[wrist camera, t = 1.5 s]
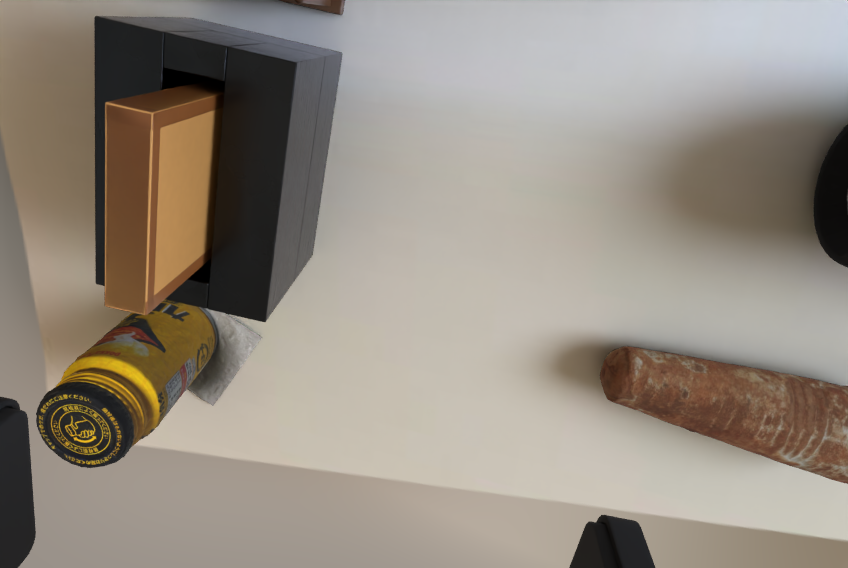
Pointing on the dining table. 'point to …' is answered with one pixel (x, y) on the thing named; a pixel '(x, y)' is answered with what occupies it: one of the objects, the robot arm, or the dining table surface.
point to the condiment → (140, 380)
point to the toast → (159, 191)
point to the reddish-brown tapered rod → (737, 406)
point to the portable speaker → (833, 201)
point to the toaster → (233, 146)
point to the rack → (321, 5)
